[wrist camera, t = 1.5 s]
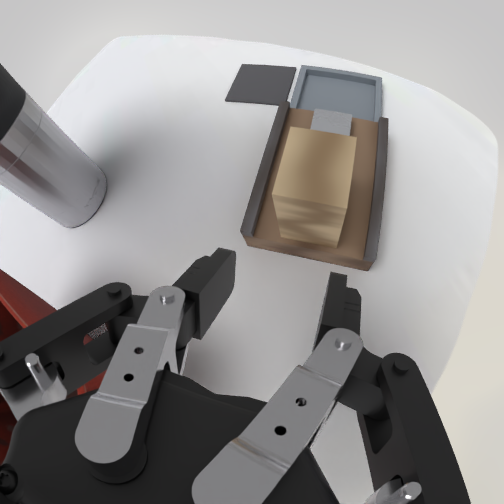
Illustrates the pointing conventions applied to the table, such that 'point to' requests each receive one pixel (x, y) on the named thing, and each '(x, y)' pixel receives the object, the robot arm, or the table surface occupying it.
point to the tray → (338, 92)
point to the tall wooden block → (314, 185)
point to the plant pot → (12, 321)
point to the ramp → (359, 202)
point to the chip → (331, 122)
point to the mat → (261, 84)
